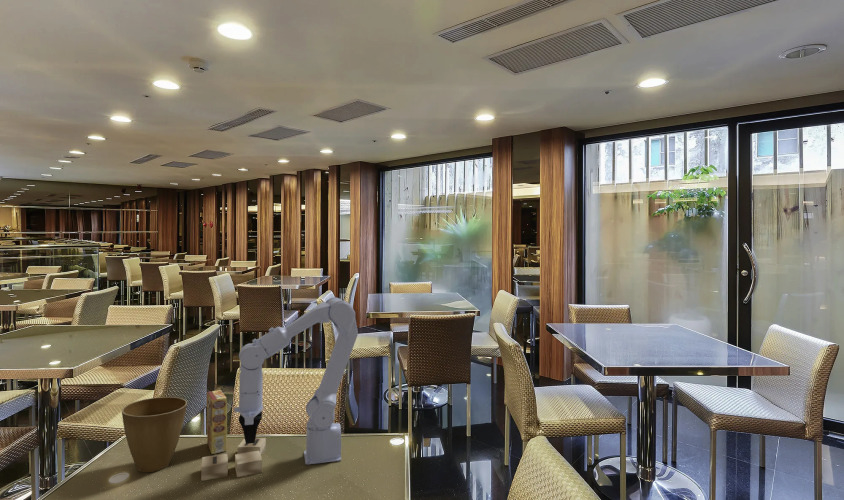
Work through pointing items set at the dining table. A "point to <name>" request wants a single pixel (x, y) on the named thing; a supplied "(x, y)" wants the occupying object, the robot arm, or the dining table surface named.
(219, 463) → the numbered block one
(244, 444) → the numbered block eleven
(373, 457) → the dining table surface
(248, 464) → the plain block
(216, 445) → the candy box
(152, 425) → the plant pot
